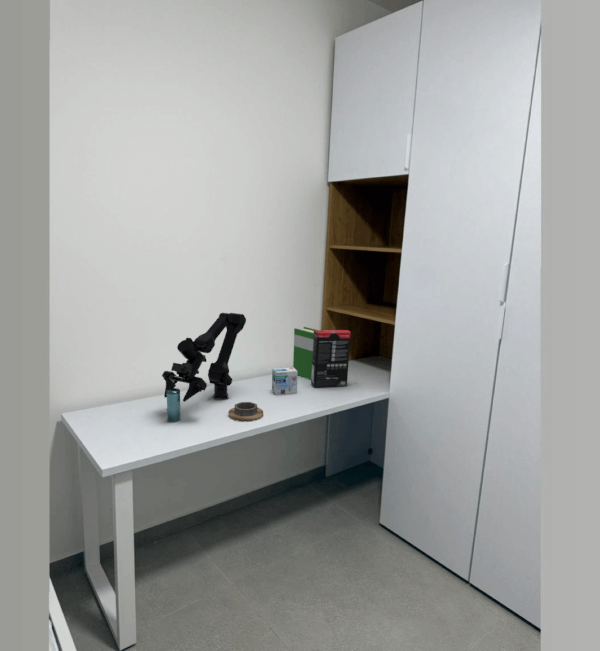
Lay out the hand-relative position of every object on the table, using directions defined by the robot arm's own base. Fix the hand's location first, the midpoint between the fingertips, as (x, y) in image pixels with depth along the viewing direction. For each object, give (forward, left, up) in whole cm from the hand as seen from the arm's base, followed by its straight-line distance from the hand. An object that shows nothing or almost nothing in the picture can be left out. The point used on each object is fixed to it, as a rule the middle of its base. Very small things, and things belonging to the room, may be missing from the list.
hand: (174, 399), depth 194 cm
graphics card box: (-38, +70, -8) cm, 80 cm away
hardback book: (-53, +63, -8) cm, 82 cm away
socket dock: (-3, +28, -8) cm, 29 cm away
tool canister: (0, 0, -8) cm, 8 cm away
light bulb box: (-30, +47, -9) cm, 56 cm away
